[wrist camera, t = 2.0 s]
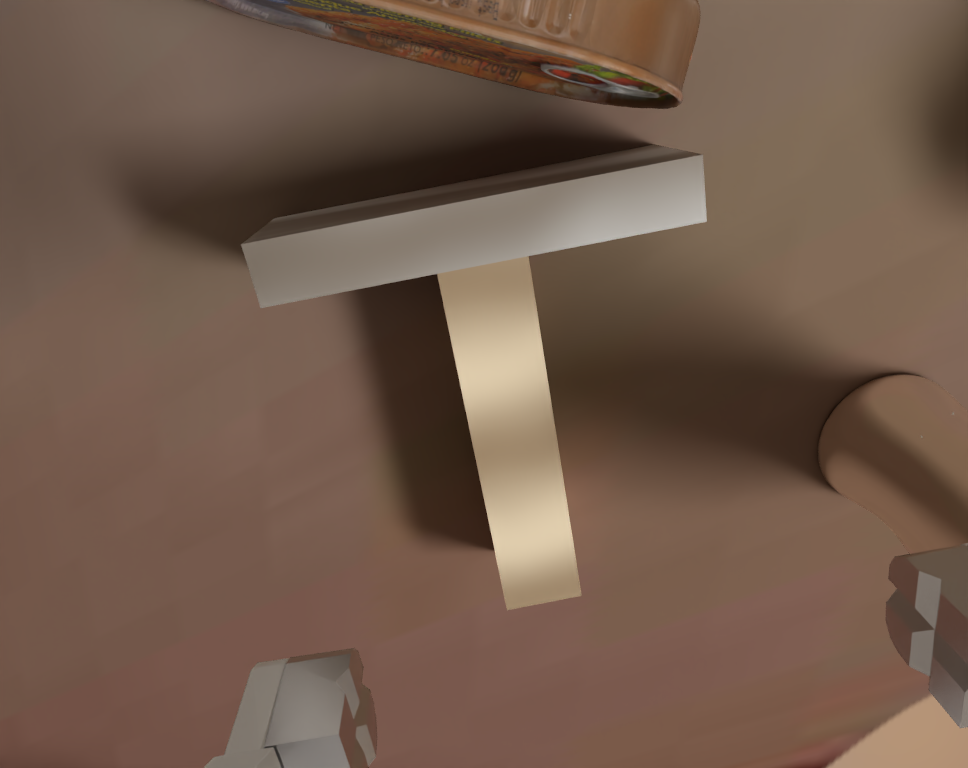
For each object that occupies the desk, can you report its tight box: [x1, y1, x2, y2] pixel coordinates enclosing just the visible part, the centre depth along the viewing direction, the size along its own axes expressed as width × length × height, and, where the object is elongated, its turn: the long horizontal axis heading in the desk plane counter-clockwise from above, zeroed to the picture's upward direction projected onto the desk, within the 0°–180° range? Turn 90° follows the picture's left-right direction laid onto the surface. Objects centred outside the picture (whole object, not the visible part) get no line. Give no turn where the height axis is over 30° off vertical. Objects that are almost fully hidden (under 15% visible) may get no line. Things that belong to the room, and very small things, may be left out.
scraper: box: [241, 145, 707, 610], centre depth 27 cm, size 16×14×5 cm
